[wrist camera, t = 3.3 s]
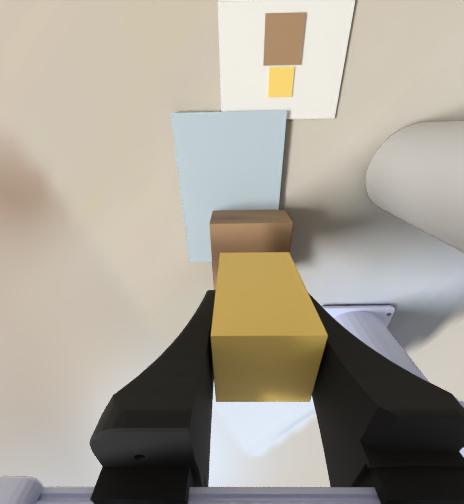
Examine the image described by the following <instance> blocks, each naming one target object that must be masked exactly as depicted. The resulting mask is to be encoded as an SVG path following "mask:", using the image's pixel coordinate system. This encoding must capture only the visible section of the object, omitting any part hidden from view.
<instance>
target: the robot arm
mask: <svg viewBox="0 0 464 504" xmlns="http://www.w3.org/2000/svg"><path fill="white" fill-rule="evenodd" d="M215 293H216V290H208V291H207V292H206V295H205V297H204V299H203V301H202V302H201V304H200V306H199V308H198V309H197V311H196V312H195V314H194V315H193V317H192V318H191V320H190V321H189V323H188V324H187V325H186V327H185V328H184V330H183V331H182V332H181V333H180V335H179V336H178V337H177V338H176V339H175V341H174V342H173V343H172V344H171V345H170V346H169V347H168V348H167V349H166V350H165V351H164V352H163V354H162V355H161V356H160V357H159V358H158V359H157V360H156V361H154V362H153V363H152V364H151V365H150V366H149V367H148V368H147V369H146V370H144V371H143V372H142V373H141V374H140V375H139V376H138V377H136V378H135V379H134V380H133V381H131V382H130V383H129V384H127V385H126V386H125V387H123V388H122V389H121V390H120V391H118V392H117V393H116V394H114V395H113V397H112V398H111V400H110V402H109V403H108V405H107V406H106V408H105V410H104V412H103V413H102V416H101V418H100V420H99V422H98V424H97V426H96V429H95V431H94V433H93V435H92V437H91V439H90V446H91V449H92V451H93V453H94V455H95V456H96V457H97V459H98V460H99V462H100V463H101V465H102V466H103V467H102V470H101V472H100V475H99V478H98V480H97V483H96V485H95V487H43V484H42V483H41V482H40V481H39V480H38V479H36V478H32V477H28V476H0V504H464V402H463V401H459V400H458V399H457V398H455V397H454V396H453V395H452V394H451V393H449V392H447V391H445V390H443V389H441V388H439V387H437V386H435V385H433V384H431V383H430V382H429V381H428V380H427V379H426V377H425V376H424V375H423V374H422V372H421V371H420V370H419V368H418V367H417V366H416V365H415V363H414V362H413V361H412V359H411V358H410V357H409V356H408V354H407V353H406V352H405V351H404V349H403V348H402V347H401V345H400V344H399V343H398V342H397V340H396V339H395V338H394V337H393V335H392V334H391V333H390V331H389V330H388V329H387V327H388V325H389V323H390V321H391V318H392V316H393V314H394V312H395V308H394V307H393V306H391V305H381V306H323V307H322V306H321V305H320V304H319V303H318V302H317V301H316V300H315V299H314V298H313V297H312V296H311V295H310V294H309V293H308V294H309V296H310V298H311V300H312V302H313V305H314V307H315V309H316V311H317V313H318V315H319V317H320V320H321V322H322V324H323V326H324V328H325V330H326V332H327V335H328V337H327V341H326V344H325V348H324V352H323V355H322V359H321V363H320V366H319V370H318V374H317V377H316V381H315V385H314V388H313V392H312V397H313V401H314V406H315V410H316V415H317V419H318V424H319V428H320V433H321V438H322V443H323V448H324V453H325V459H326V464H327V469H328V475H329V480H330V486H331V487H208V480H209V456H210V435H211V417H212V399H213V383H214V371H213V358H212V346H211V328H212V320H213V311H214V302H215Z"/></svg>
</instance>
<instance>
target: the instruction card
mask: <svg viewBox="0 0 464 504" xmlns="http://www.w3.org/2000/svg"><path fill="white" fill-rule="evenodd" d="M354 5H355V0H230V1H218V24H219V54H220V84H221V112H236V111H286V110H287V117H286V119H329V118H335V113H336V107H337V102H338V96H339V90H340V85H341V79H342V73H343V68H344V62H345V56H346V50H347V45H348V39H349V33H350V28H351V22H352V16H353V11H354Z"/></svg>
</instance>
